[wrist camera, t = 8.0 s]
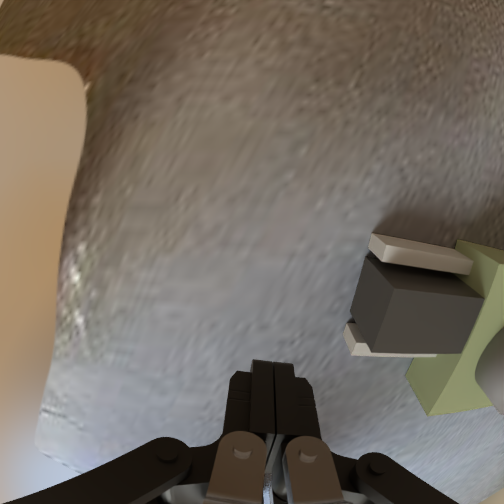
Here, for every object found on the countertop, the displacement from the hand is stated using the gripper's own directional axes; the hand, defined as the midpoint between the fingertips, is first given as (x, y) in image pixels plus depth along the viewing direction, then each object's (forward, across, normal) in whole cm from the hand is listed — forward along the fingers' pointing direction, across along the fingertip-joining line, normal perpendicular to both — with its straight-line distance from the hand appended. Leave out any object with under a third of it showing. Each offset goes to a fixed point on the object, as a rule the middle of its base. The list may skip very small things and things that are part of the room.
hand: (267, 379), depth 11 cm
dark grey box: (+10, -10, -1) cm, 14 cm away
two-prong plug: (+10, -14, +1) cm, 17 cm away
